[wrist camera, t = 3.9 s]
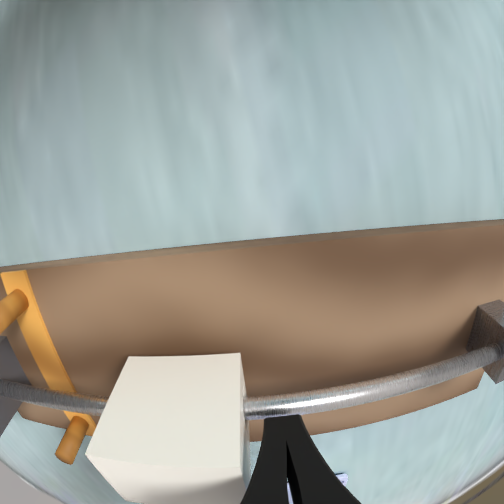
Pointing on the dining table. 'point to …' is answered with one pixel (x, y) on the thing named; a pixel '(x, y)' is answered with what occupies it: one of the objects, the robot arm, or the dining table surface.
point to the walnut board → (259, 315)
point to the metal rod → (306, 402)
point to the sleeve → (176, 431)
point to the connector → (8, 368)
